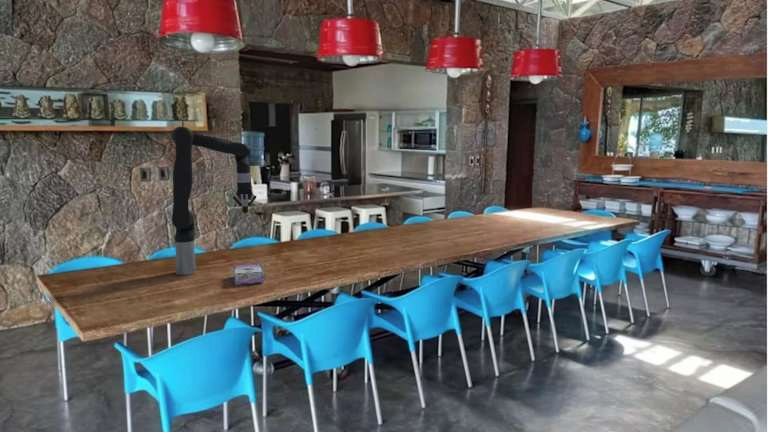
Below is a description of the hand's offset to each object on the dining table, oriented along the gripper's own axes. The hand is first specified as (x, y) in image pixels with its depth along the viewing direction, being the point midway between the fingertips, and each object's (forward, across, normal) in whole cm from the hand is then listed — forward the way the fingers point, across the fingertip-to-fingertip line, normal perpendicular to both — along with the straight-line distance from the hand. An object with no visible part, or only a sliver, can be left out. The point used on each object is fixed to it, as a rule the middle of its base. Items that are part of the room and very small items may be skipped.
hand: (245, 213), depth 291 cm
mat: (+29, +2, -29) cm, 41 cm away
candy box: (+26, +2, -22) cm, 34 cm away
